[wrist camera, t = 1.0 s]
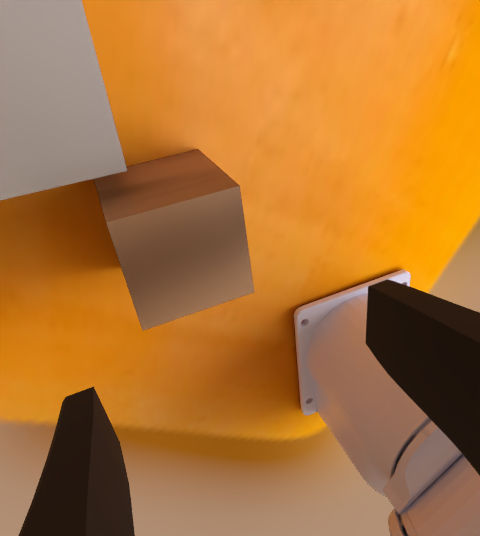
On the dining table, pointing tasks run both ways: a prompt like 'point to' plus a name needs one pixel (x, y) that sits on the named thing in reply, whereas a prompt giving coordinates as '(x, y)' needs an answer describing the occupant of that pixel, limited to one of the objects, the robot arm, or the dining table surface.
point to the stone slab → (52, 100)
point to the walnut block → (177, 235)
